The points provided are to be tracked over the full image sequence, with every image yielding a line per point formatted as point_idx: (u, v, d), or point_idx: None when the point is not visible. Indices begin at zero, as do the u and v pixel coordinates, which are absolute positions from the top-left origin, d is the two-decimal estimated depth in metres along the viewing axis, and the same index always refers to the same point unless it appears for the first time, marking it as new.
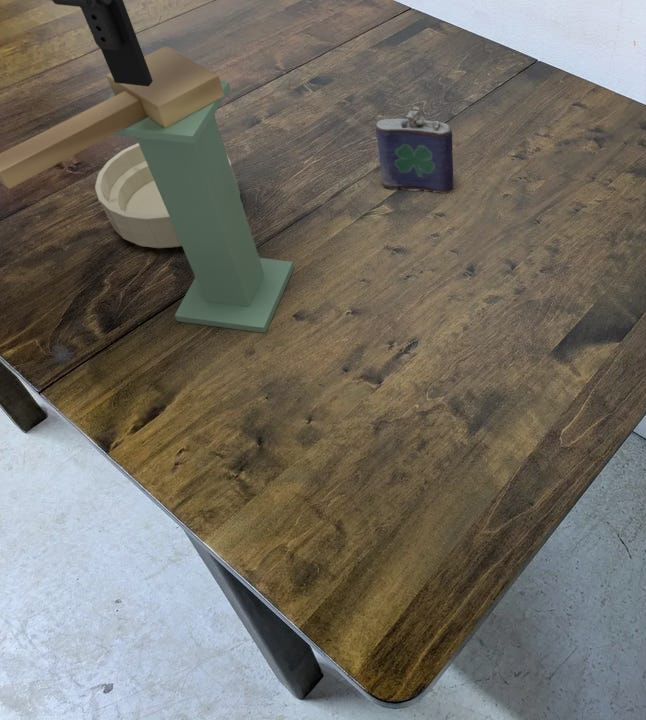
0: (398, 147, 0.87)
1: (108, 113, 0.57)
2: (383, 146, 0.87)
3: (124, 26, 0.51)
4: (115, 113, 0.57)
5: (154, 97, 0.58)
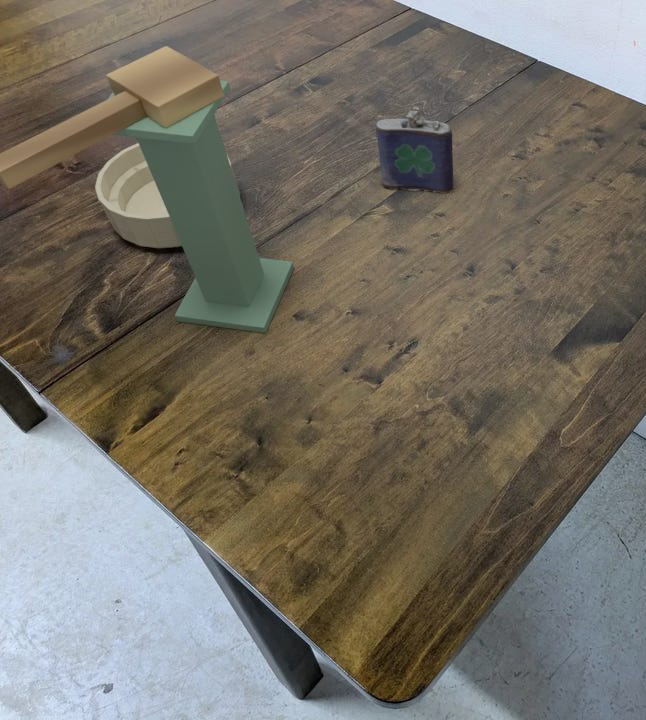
0: (398, 147, 0.87)
1: (108, 113, 0.57)
2: (383, 146, 0.87)
3: None
4: (115, 113, 0.57)
5: (154, 97, 0.58)
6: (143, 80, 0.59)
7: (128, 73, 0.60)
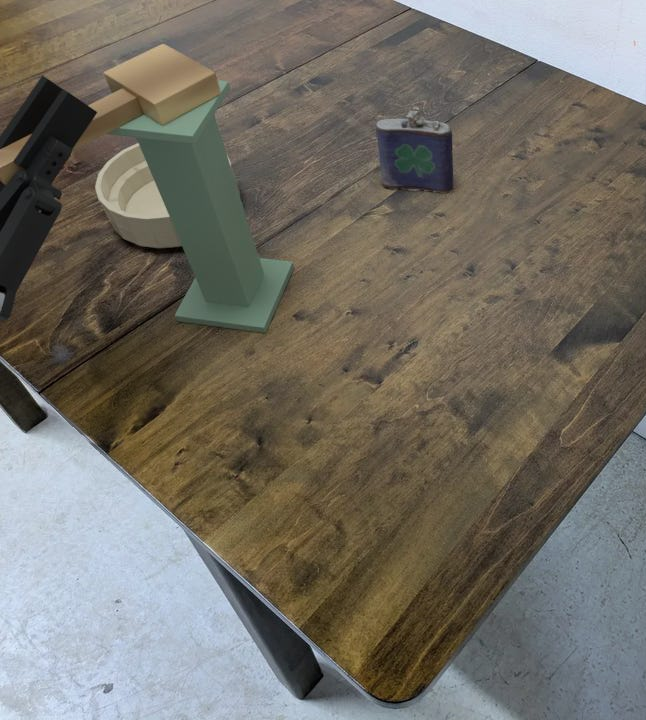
0: (398, 147, 0.87)
1: (105, 110, 0.57)
2: (383, 146, 0.87)
3: None
4: (112, 111, 0.57)
5: (150, 95, 0.58)
6: (140, 78, 0.59)
7: (125, 70, 0.60)
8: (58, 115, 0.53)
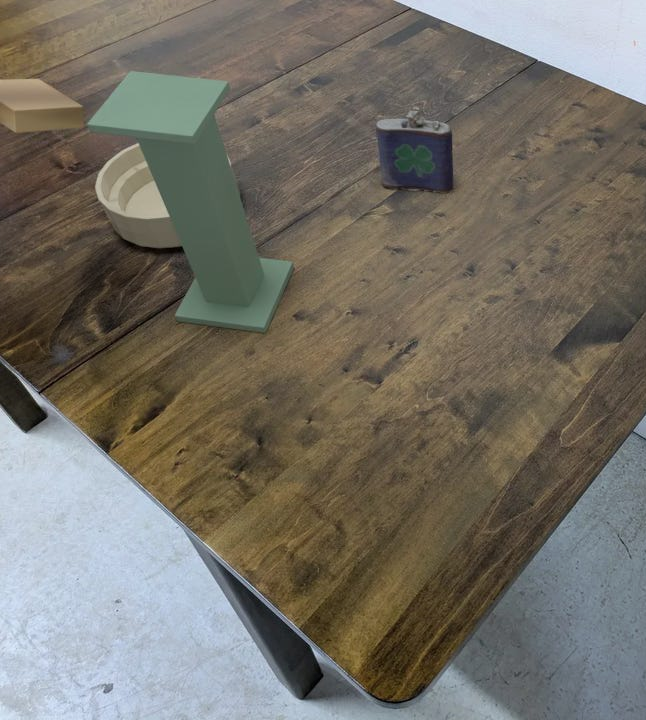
0: (398, 147, 0.87)
1: None
2: (383, 146, 0.87)
3: None
4: None
5: (12, 104, 0.61)
6: (5, 92, 0.63)
7: None
8: None
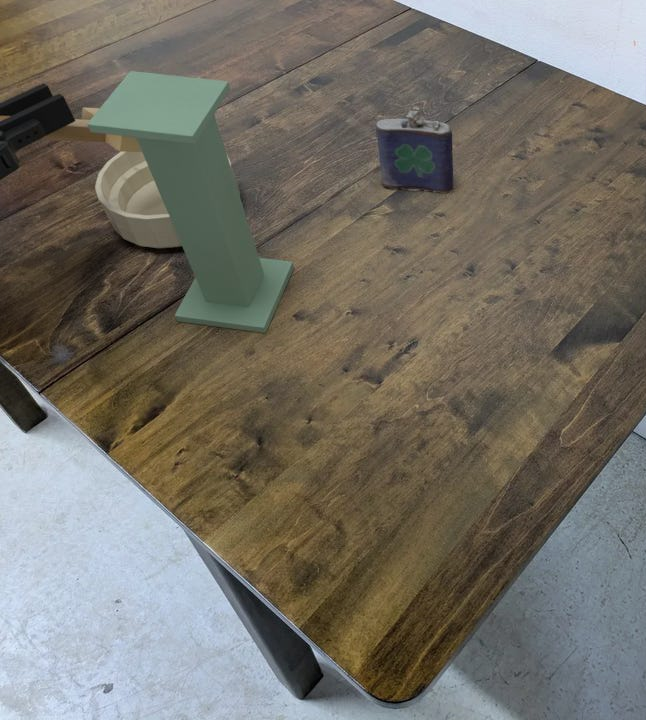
0: (398, 147, 0.87)
1: (79, 125, 0.73)
2: (383, 146, 0.87)
3: None
4: (84, 127, 0.73)
5: None
6: None
7: None
8: (47, 108, 0.68)
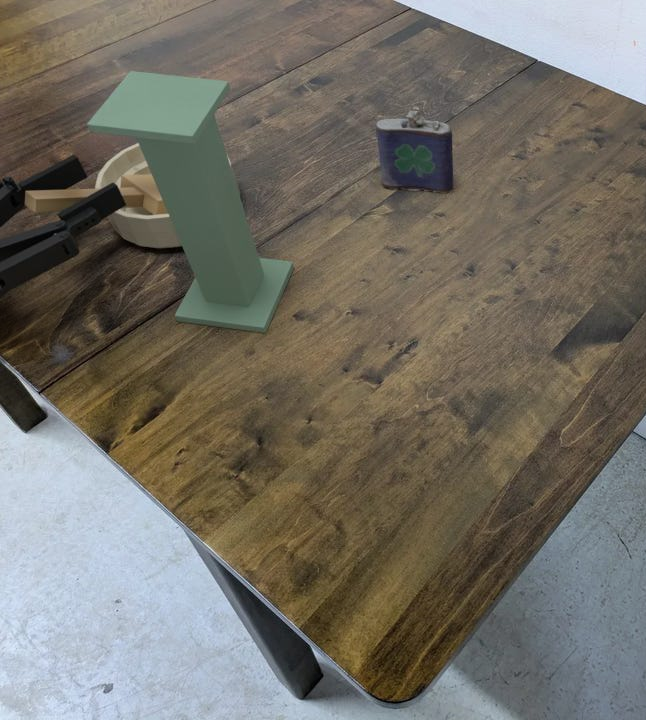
0: (398, 147, 0.87)
1: None
2: (383, 146, 0.87)
3: None
4: (125, 196, 0.81)
5: (155, 195, 0.83)
6: (148, 185, 0.84)
7: (138, 178, 0.85)
8: (102, 196, 0.75)
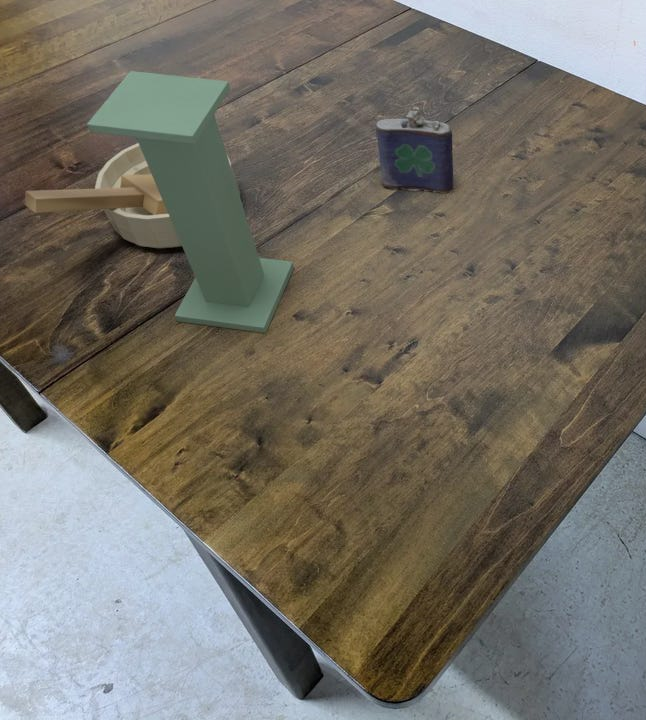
0: (398, 147, 0.87)
1: (120, 194, 0.81)
2: (383, 146, 0.87)
3: None
4: (125, 196, 0.81)
5: (155, 195, 0.83)
6: (148, 185, 0.84)
7: (138, 178, 0.85)
8: None
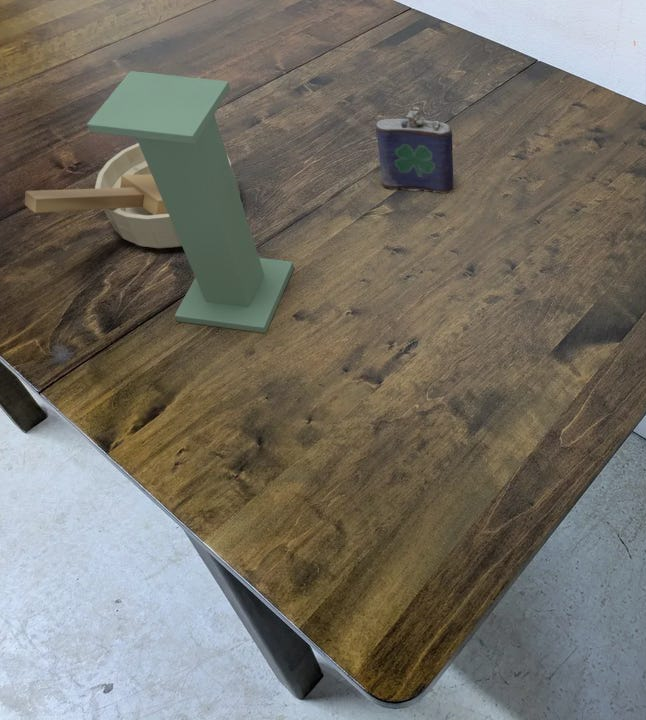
0: (398, 147, 0.87)
1: (120, 194, 0.81)
2: (383, 146, 0.87)
3: None
4: (125, 196, 0.81)
5: (155, 195, 0.83)
6: (148, 185, 0.84)
7: (138, 178, 0.85)
8: None
